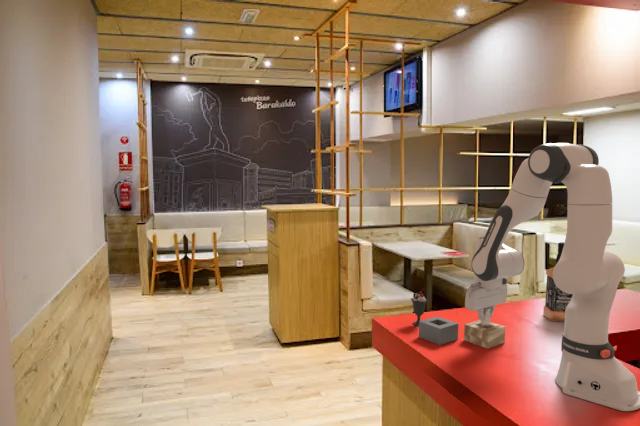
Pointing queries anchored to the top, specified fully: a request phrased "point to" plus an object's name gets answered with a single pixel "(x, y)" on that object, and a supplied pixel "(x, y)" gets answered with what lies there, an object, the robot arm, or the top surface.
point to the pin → (486, 318)
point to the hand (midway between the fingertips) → (485, 318)
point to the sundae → (418, 305)
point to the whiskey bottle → (555, 295)
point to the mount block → (484, 334)
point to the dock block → (438, 330)
